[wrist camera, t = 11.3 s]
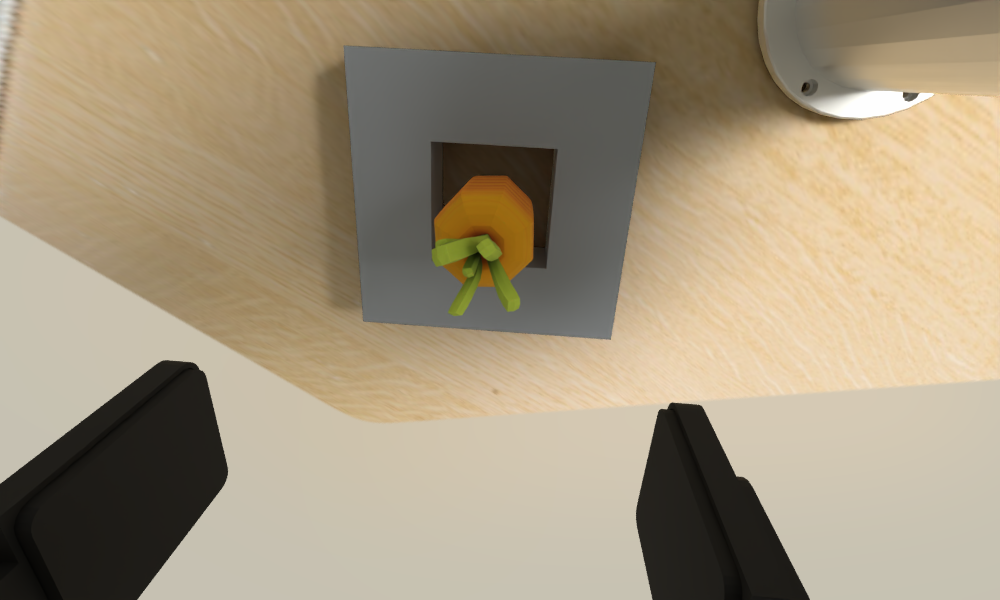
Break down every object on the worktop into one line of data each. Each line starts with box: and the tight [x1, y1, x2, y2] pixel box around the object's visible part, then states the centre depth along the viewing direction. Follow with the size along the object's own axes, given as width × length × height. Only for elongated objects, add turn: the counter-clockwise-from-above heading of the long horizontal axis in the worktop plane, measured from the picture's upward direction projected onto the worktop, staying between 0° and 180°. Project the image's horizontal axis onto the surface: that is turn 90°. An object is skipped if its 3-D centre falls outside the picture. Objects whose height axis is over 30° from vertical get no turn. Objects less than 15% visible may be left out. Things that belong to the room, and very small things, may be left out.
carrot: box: [432, 176, 534, 316], centre depth 26 cm, size 5×5×15 cm
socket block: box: [344, 46, 656, 340], centre depth 31 cm, size 16×16×4 cm
